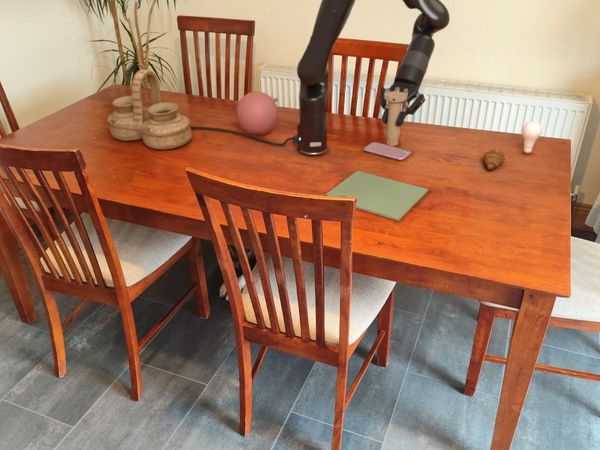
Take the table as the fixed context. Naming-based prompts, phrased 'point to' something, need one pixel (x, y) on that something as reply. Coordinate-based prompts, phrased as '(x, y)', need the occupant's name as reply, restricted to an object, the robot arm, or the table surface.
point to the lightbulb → (530, 135)
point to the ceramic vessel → (149, 117)
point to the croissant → (493, 159)
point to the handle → (394, 115)
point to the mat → (379, 194)
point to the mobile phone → (387, 151)
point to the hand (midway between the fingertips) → (391, 123)
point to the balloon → (257, 113)
